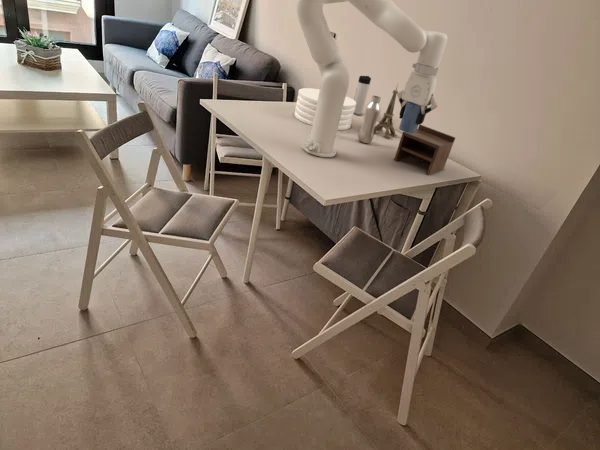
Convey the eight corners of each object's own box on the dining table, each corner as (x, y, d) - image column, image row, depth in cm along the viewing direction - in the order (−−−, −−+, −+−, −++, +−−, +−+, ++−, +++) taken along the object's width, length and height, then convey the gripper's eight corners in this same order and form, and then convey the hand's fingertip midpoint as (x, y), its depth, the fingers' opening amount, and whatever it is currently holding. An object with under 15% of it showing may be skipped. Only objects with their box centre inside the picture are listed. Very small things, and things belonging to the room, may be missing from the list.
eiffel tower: (377, 129, 210) (392, 78, 198) (396, 135, 206) (413, 84, 194) (368, 131, 202) (383, 78, 190) (388, 139, 197) (405, 85, 185)
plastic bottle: (371, 146, 182) (384, 100, 173) (356, 142, 183) (368, 96, 173) (371, 142, 188) (384, 97, 178) (357, 138, 188) (369, 93, 179)
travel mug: (363, 114, 232) (373, 77, 222) (358, 116, 226) (368, 78, 217) (353, 111, 234) (362, 74, 224) (348, 112, 229) (357, 75, 219)
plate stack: (351, 119, 216) (356, 97, 211) (349, 134, 192) (356, 109, 186) (298, 107, 217) (302, 84, 211) (290, 120, 192) (294, 95, 187)
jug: (409, 134, 151) (418, 106, 146) (394, 128, 154) (402, 101, 149) (422, 131, 158) (430, 105, 153) (407, 126, 161) (415, 100, 156)
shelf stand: (428, 175, 163) (441, 141, 156) (393, 160, 171) (404, 127, 165) (443, 169, 173) (455, 137, 167) (409, 155, 181) (420, 124, 175)
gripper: (399, 64, 147) (385, 114, 155) (444, 77, 138) (426, 129, 147) (409, 64, 152) (395, 113, 161) (453, 76, 143) (435, 127, 152)
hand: (410, 120), depth 154 cm, fingers closed on jug, 6 cm apart
